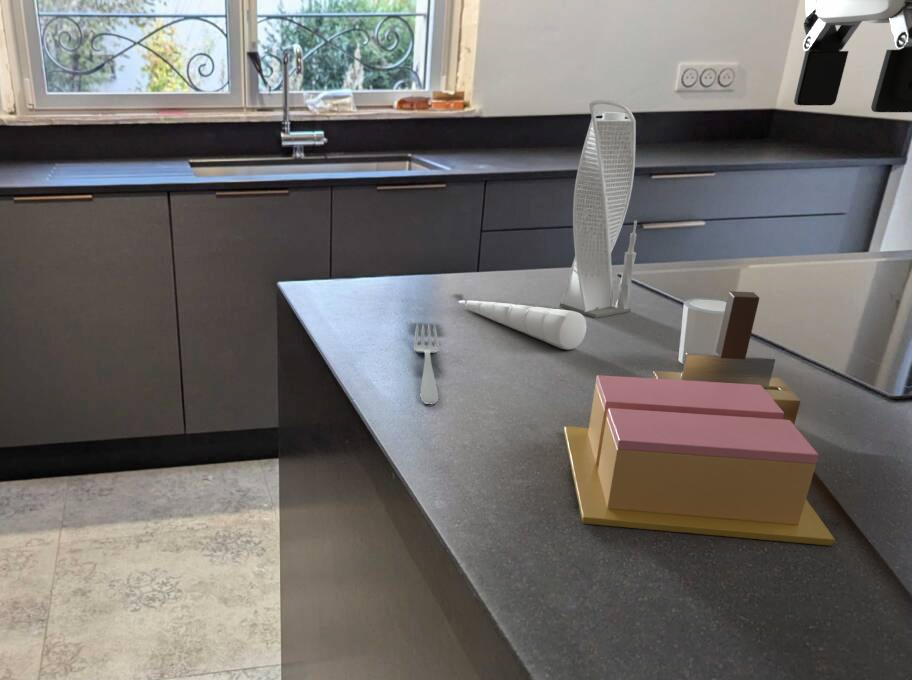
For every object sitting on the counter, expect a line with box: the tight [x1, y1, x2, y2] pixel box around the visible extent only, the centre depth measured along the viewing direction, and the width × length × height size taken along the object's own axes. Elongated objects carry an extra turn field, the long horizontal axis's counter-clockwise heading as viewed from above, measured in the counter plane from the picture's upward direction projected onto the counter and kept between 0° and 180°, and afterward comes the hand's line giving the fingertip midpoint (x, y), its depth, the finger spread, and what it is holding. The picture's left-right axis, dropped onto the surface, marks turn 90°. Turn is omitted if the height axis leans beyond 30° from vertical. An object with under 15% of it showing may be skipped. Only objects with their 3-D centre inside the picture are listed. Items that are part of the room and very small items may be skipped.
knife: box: [681, 290, 776, 390], centre depth 79 cm, size 8×2×13 cm, turn 79°
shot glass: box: [678, 297, 727, 365], centre depth 97 cm, size 7×7×7 cm
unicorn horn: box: [458, 300, 587, 351], centre depth 111 cm, size 5×24×5 cm, turn 23°
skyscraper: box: [559, 99, 638, 319], centre depth 114 cm, size 8×8×28 cm
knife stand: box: [651, 370, 802, 425], centre depth 81 cm, size 12×6×4 cm, turn 79°
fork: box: [413, 323, 440, 404], centre depth 97 cm, size 3×24×2 cm, turn 174°
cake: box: [563, 374, 836, 547], centre depth 69 cm, size 18×18×7 cm
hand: (851, 108), depth 63 cm, fingers open, 9 cm apart
